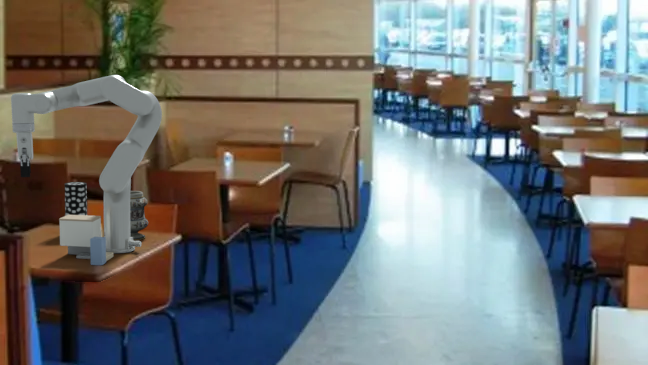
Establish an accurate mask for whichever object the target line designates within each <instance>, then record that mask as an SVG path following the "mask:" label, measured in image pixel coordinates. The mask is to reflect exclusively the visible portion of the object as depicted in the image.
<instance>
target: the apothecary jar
mask: <svg viewBox="0 0 648 365" xmlns="http://www.w3.org/2000/svg"><path fill="white" fill-rule="evenodd" d="M147 205H148V199H147V198H146V197H144V192H143V191H140V190H130V237H133V240H134V241H140V240H143V239H144V240H145V239H146V235H145V234H142V233H141V231H143V230H145V229H146V228H147V227H148V226H149V221H148V219H147V218H146V217H145V207H147Z"/></svg>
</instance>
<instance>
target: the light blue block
mask: <svg viewBox="0 0 648 365" xmlns="http://www.w3.org/2000/svg"><path fill="white" fill-rule="evenodd" d="M90 253H91V259H90V265H91V266H103V265H104V264H107V261H109V260H111V259H112V258H113V257H115V256H114V253H113V252H106V237H104V236H101V237H93V238H91V239H90Z"/></svg>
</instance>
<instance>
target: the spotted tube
mask: <svg viewBox="0 0 648 365" xmlns="http://www.w3.org/2000/svg"><path fill="white" fill-rule="evenodd" d="M87 189H88V188H87V182H84V181H83V182H81V181H73V182H65V183H64V209H65V210H64V211H65V212H64V216H66V215H88V200H87V199H88V197H87V196H88V194H87V193H88V192H87Z"/></svg>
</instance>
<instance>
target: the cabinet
mask: <svg viewBox="0 0 648 365" xmlns="http://www.w3.org/2000/svg"><path fill="white" fill-rule="evenodd" d="M58 221H59V246H61V247H62V246H63V247H67V254H68V255H78V254H80V253H90V239H91V238H93V237H102V229H101V228H102V215H88V214H87V215H66V216H65V215H64V216H62V217H60V218H59V219H58Z"/></svg>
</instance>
